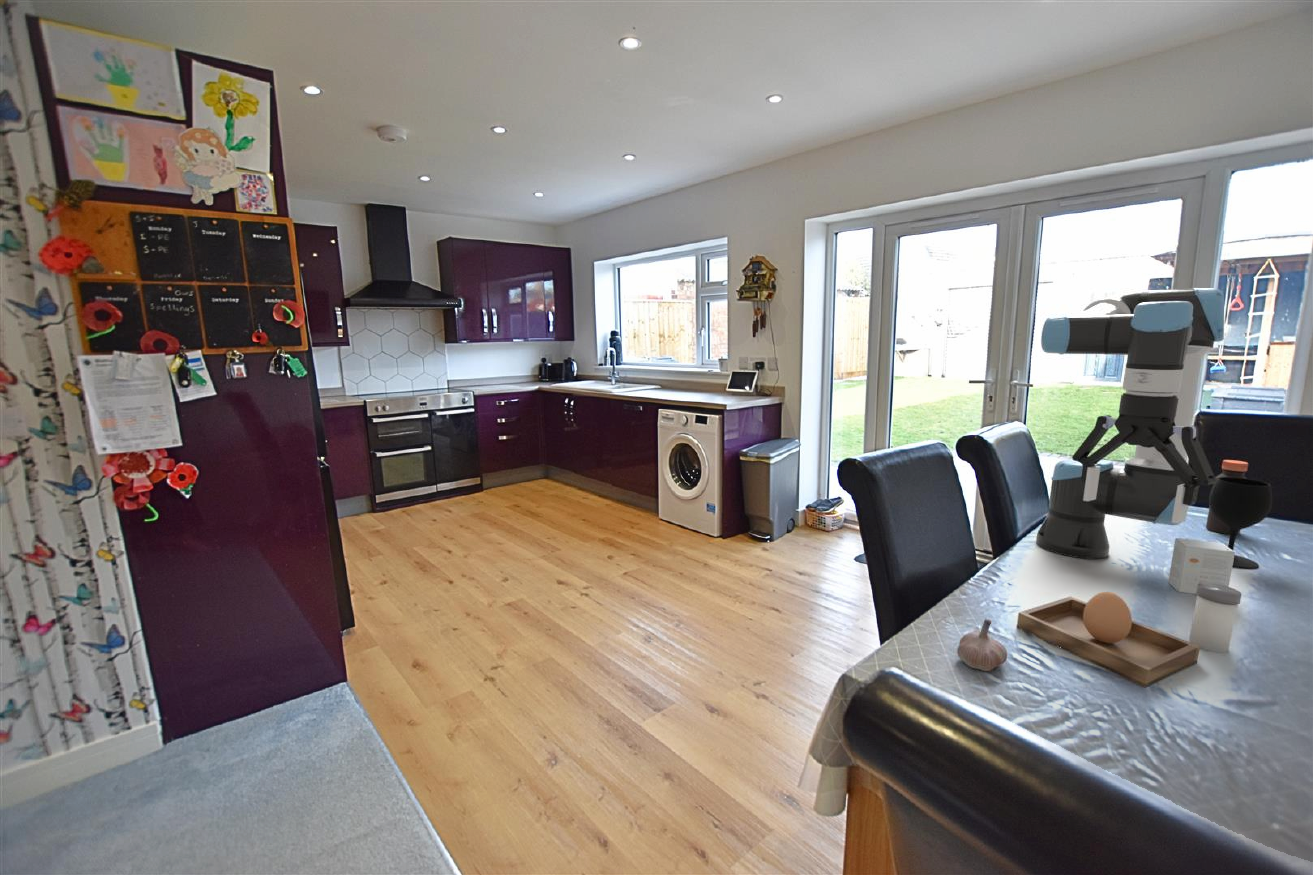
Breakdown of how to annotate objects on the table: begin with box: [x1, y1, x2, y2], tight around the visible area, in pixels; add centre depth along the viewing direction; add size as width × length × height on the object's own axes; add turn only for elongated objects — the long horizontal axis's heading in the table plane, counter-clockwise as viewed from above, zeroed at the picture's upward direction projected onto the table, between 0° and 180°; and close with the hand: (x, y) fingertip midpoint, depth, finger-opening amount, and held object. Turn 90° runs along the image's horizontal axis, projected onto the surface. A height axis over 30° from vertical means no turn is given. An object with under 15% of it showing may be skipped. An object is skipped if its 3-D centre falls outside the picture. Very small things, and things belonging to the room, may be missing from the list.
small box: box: [1168, 537, 1236, 595], centre depth 119 cm, size 8×6×10 cm
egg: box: [1083, 591, 1133, 643], centre depth 98 cm, size 7×7×9 cm
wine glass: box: [1208, 477, 1274, 570], centre depth 134 cm, size 10×10×20 cm
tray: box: [1016, 596, 1201, 688], centre depth 99 cm, size 20×16×3 cm
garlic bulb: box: [956, 618, 1008, 672], centre depth 92 cm, size 8×7×8 cm
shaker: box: [1188, 582, 1243, 654], centre depth 98 cm, size 5×5×11 cm
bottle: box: [1205, 459, 1249, 535], centre depth 155 cm, size 7×7×20 cm
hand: (1131, 510), depth 101 cm, fingers open, 13 cm apart
